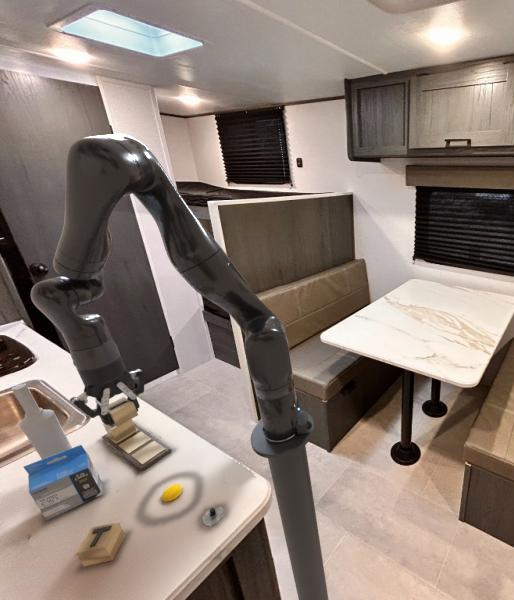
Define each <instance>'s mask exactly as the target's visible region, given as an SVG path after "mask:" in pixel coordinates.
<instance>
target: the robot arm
mask: <svg viewBox="0 0 514 600" xmlns="http://www.w3.org/2000/svg"><path fill="white" fill-rule="evenodd" d="M65 160H66V161H65V163H66V164H65V192H64V193H65V195H64V196H65V197H64V215H63V217H64V218H63V225H62V230H61V235H60V238H59V240H58V243H57V246H56V249H55V253H54V256H53V259H52V260H53V261H52V266H53V269H54V271H55V272H56V273H57V274H58V275H59V276H55V277H53V278H47V279H44V280H41V281H38V282H37V283H35V284H34V285H33V286H32V288H31V290H30V299H31V302H32V303H33V305H34V306H35V308H37V309H38V310H39V311H40V312H41V313H42V314H43V315H44V316H45V317H46V318H47V319H48V320H49V321H50V322H51V323H52V324H53V325H54V326H55V327H56V328H57V329H58V331H59V332H60V333H61V335H62V337H63V339H64V341H65V343H66V345H67V347H68V349H69V353H70V358H71V360H72V364H73V366H74V367H75V368H76V371H77V372H78V375H79V377H80V379H81V381H82V383H83V385H84V388H83V392H82V393H81V394H79V395H78V396H72V397H71V398H70V399H69V402H70V403H71V404H72V405H74V406H75V407H76V408H78V409H79V410H80V411H82V412H83V413H84V414H85V415H87V417H89V418H90V419H95V418H96V417H99V418H100V421H101V422H102V424H105V425H110V426H111V425H113V424H114V423H113V420H112V418H111V416H110V414H109V412H108V405H109V404H110V400H111V399H112V398H113V397H115V396H118V395H120V394H124V395H125V397H126V398H127V399H128V400H130V401H131V402H133V403H134V406H135V408H136V410H137V412H139V409H140V407H141V406H140V403H139V399H138V396H139V395H140V394H143V393H145V376H146V375H145V371H144V370H142V369H139V368H135V369H133V370H132V371H128V370H127V368H126V366H125V363H124V361H123V358H122V356H121V353H120V351H119V348H118V345H117V344H116V342H115V340H114V338H113V337H112V334H111V332H110V330H109V327H108V325H107V322H106V320H105V319H104V317H103V316H102V315H101V314H98V313H85V314H80V315H78V314H77V312H76V311H75V310H76V309H79V308H82V307H84V306H86V305H89V304H92V303H94V302H96V301H98V300H99V299H100V298H101V297H102V296H103V294H104V293H105V289H106V288H105V287H106V286H105V275H104V268H105V266H106V264H107V262H108V259H109V256H110V254H111V250H112V246H113V239H112V238H113V237H112V234H111V231H110V227H109V224H110V223H109V221H110V218H111V216H112V213H113V212H114V211H115V208H116V207H117V205H118V204H119V202H121V200H122V198H123V197H125V196H126V197H127V196H131V195H133V196H134V197H135V198H136V199H137V200H138V201H139V202H140V203H141V205H142V206H143V207H144V208H145V209H146V210H147V211H148V213H149V214H150V216H151V217H152V218H153V220H154V222H155V224H156V227H157V229H158V231H159V234H160V237H161V241H162V243H163V247H164V249H165V250H164V251H165V253H166V255H167V257H168V258H167V259H169V261H170V263H171V265H172V266H173V268H174V269H175V270H176V271H177V273H178V274H179V275H180V276H181V277H182V278H183V279H184V280H185V281H186V282H187V284H188V285H190V287H191V288H192V289H194V290H195V291H196V293H198V294H199V295H201V296H202V297H204V299H207V300H208V301H210V302H211V303H213V304H215V305H217V306H218V307H219V308H221V309H223V310H224V311H225V312H227V314H229V316H231V318H232V319H233V320H234V321H235V322H236V324H237V325H238V327H239V328H240V329H241V331H242V332H243V334H244V353H245V354H244V355H245V358H246V362H247V367H248V370H249V374H250V378H251V380H252V382H253V386H254V391H255V396H256V400H257V405H258V410H259V414H260V419H261V420H262V424H263V434H264V435H265V438H266V440H267V441H268V442H270V443H274V444H280V443H284V442H287V441H289V440H291V439H293V438H294V437H296V436H299V435H300V434H304V433H308V430H309V429H311V427H312V423H311V422H310V421H308V415H307V413H308V411H305V412H301V413H300V410H301V409H300V403H299V396H298V393H297V392H296V387H295V380H294V375H293V366H292V360H291V354H290V345H289V340H288V335H287V329H286V327H285V325H284V324H283V322H282V320H281V319H280V318H279V317H278V316H277V315H276V314H274V312H273V311H272V310H271V309H269V307H268V306H267V305H266V304H265V303H264V302H263V301H262V299H260V298H259V297H258V295H256V293H255V292H254V290H253V289H252V287H251V286H250V285H249V283H248V281H247V279H246V278H245V277H244V275H243V274H242V273H241V272H240V270H239V269H238V268H237V266H236V265H235V264H234V262H233V260H232V259H231V258H230V256H229V255H228V254H227V253H226V252H225V250H224V249H223V248H222V247H221V246H220V244H219V243H218V242H217V241H216V240H215V238H213V236H212V235H211V234H210V232H209V231H208V230H207V229H206V227H205V226H204V224H203V223H202V222H201V221H200V219H199V218H198V217H197V216H196V214H195V213H194V211H193V210H192V209H191V208H190V206H189V205H188V203H187V202H186V201H185V199H184V198H183V196H182V195H181V194H180V192H179V191H178V189H177V187H176V186H175V184H174V183H173V182H172V180H171V178H170V177H169V175H168V174H167V172H166V171H165V169H164V167H163V166H162V164H161V162H160V161H159V160H158V159H157V157H156V156H155V154H154V153H153V152H152V151H151V150H150V149H149V148H148V147H147V145H145V144H144V143H143V142H141V141H140V140H138V139H136V138H134V137H133V136H131V135H128V134H124V133H123V134H122V133H113V134H111V133H110V134H101V135H93V136H87V137H86V136H85V137H82V138H79V139H76V140H75V141H74V142H73V143H72V144H70V146H69V148H68V150H67V155H66V159H65ZM131 379H133V389H130V388H129V387H128V384H129V382H130V380H131ZM88 397H91V398H95V400H94V401H95V404H96V406H95V408H93V409H92V408H91V407H89V406H88V402H89V400H88ZM261 420H260V421H261ZM308 425H309V426H308Z"/></svg>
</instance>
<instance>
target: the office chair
mask: <svg viewBox="0 0 514 600" xmlns="http://www.w3.org/2000/svg"><path fill="white" fill-rule="evenodd" d="M223 517H225V512H224V510H223V507H222V506H218V507H215V506H211V507H210V508H209V510H206V512H205V514H204V515H203V516H202V517H201V519H202V523H203V524H204V526H207V527H209V528H210V527H213V526H215V525H217V523H218V522H219V521H221V519H222V518H223Z"/></svg>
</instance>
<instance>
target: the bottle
mask: <svg viewBox="0 0 514 600" xmlns="http://www.w3.org/2000/svg"><path fill="white" fill-rule="evenodd" d="M11 391H12V393H13V395H14V397H15V398H16V400H17V401H18V402H19V404H20V406H21V407H22V409H23V411H24V412H25V414H24V417H23V419H22V420H21V421H20V422H19V427H20V429H21V431H22V432H23V433H24V435H25V436H26V438H27V439H28V441H29V442H30V443H31V445H32V447H33V448H34V450H35V451H36V452H37V454H38V456H39V457H40V460H42V459H44V458H47V457H50V456H52V455H55V454H58V453H60V452H63V451H66V450H68V449H71V448H73V446H72V445H71V442H70V440H69V438H68V436H67V434H66V433H65V431H64V429H63V427H62V425H61V423H60V420H59V419H58V417H57V415H56V413H55V411H54V410H52V409H43V408H42V407H39V405H38V403H37V402H36V400H35V398H34V396H33V394H32V393H31V390H30V388H29V387H28V385H27V383H19V384H16V385H14V386H13V387H11ZM65 457H66V456H62V457H60V458H54V460H52V461H49V462H48V463H47V464H50V463H53V462H55V461H58V460H61V459H63V458H65Z"/></svg>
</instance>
